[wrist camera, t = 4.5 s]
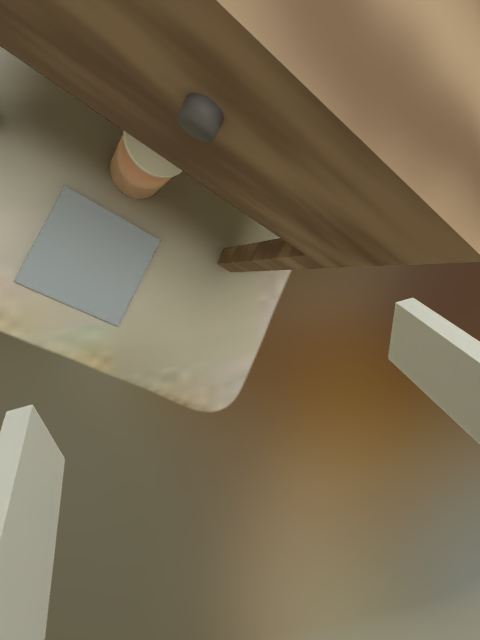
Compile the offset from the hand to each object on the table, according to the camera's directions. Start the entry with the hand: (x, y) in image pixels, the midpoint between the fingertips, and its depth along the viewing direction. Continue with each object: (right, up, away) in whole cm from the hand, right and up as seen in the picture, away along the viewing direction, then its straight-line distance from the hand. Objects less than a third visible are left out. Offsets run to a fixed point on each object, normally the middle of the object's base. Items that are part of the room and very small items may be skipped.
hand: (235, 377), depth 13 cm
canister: (-10, +17, +24) cm, 32 cm away
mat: (-15, +8, +23) cm, 29 cm away
